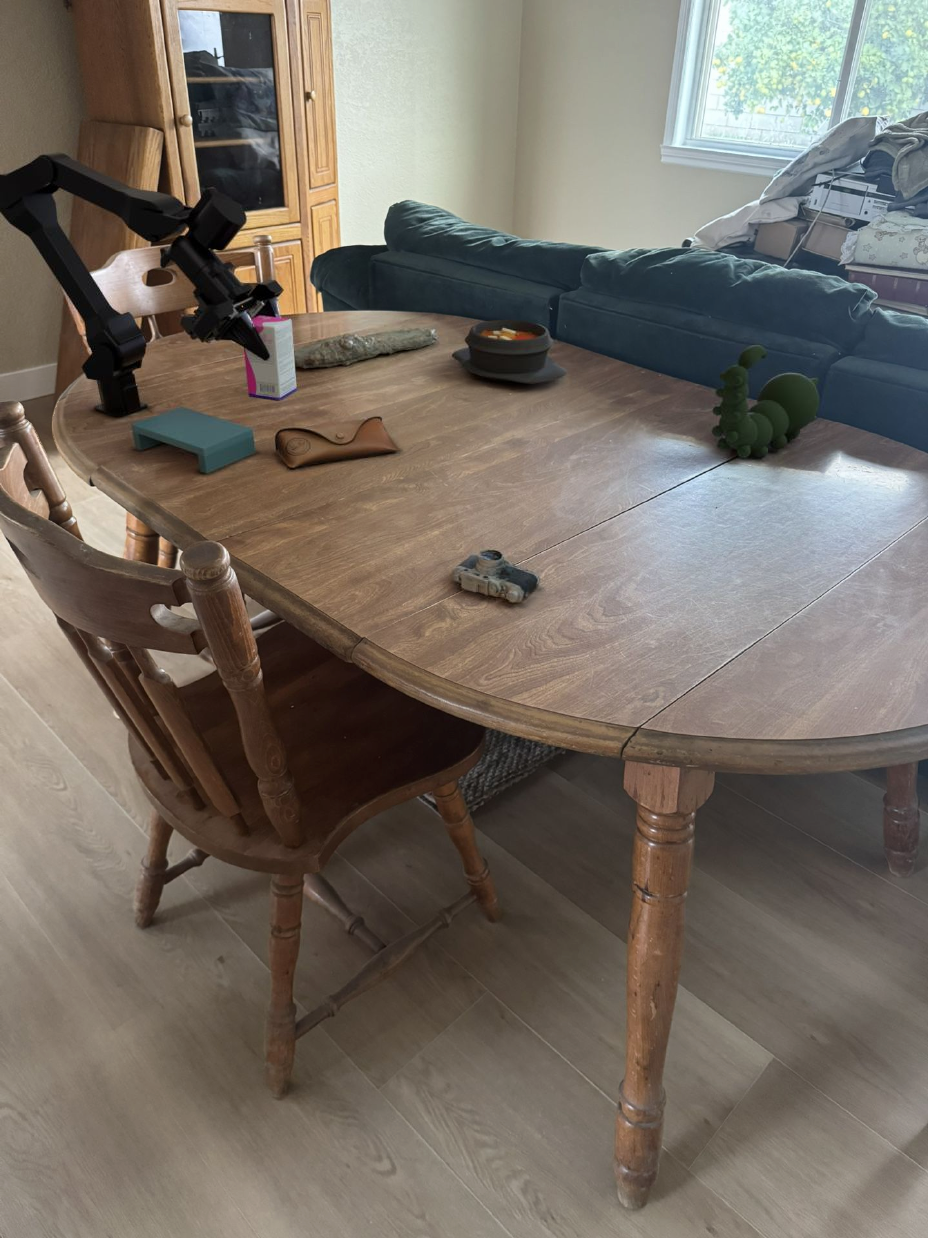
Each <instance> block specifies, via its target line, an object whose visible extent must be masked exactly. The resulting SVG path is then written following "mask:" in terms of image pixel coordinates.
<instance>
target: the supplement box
mask: <svg viewBox="0 0 928 1238" xmlns="http://www.w3.org/2000/svg"><path fill="white" fill-rule="evenodd" d="M250 319H251V318H250ZM251 321H252V323H253V325H254V327H255V328H256V330H257V332H258V334H259V335H260V337H261V339H262V341H263V343H264V344H265V346H266V348H267V350H268V352H269V354H270V358H269V359H268V360H266V361H265V360H263V359H261V358H260V357H258V356H257V355H255V354H253V353H252V352H250V351H249V350H247V349H246V348H244V347H243V354H244V362H245V374H246V383H247V393H248V397H249V398H254V399H255V398H256V399H261V400H267V401H274V402H281V401H283V400H285V399H286V398H288V397H289V396H291V395H292V394H295V393H296V392H297V388H298V387H297V377H296V366H295V362H294V350H295V348H294V338H293V337H294V336H293V323H292V318H285V317H281V318H278V317H269V316H257V317H255V318H253V319H251Z"/></svg>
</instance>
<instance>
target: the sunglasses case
mask: <svg viewBox="0 0 928 1238" xmlns="http://www.w3.org/2000/svg"><path fill="white" fill-rule="evenodd" d="M274 445H275V451H276V454H277V455H278V457H279V459H280V460H281V461H282V462H283V463H284V465H286V466H287V467H288V468H290V469H297V468H302V467H306V466H310V465H317V464H326V463H332V462H339V461H346V460H347V461H348V460H355V459H357V460H358V459H363V458H371V457H376V456H380V455H384V454H389V453H394V452H398V451H399V449H398V448H397V447H395V445H394V443H393V442H392V440H391V437H390V435H389V433H388V431H387V429H386V427H385V424H384V423H383V418H382V417H381V416H378V415H374V416H370V417H366V418H363V419H356V420H346V421H336V422H329V423H322V424H315V425H309V426H304V427H303V426H302V427H300V426H299V427H298V426H296V427H295V426H293V427H285V428H281V429H279V430H278V431H277V432H276V433H275V436H274Z"/></svg>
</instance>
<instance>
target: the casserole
mask: <svg viewBox="0 0 928 1238" xmlns="http://www.w3.org/2000/svg"><path fill="white" fill-rule="evenodd" d="M464 342H465V344H466V345H467V346H466V347H463V348H461V349H457V350H455V351H454V352H453V353H452V354H451V357H452V358H453V359H454V360H456V361H457V362H458V363H459V364H460V366H461V367H462V369H464V370H466V371H467V372H469V373H471V374H474V375H477V376H479V377H483V378H485V379H489V380H493V381H499V382H515V383H521V384H526V385H527V384H528V385H532V384H533V385H534V384H542V383H547V382H552V381H555V380H558V379H561V378H562V377H564V376H566V375H567V374H568V372H567V370H566V369H565V368H564V367H562V366H560V365H559V364H558V363H556V362H555V361H554V360H553V359H552V358H551V357H550V356H549V352H550V349H551V348H552V347H553V346H554V340H553V339H552V338H551V335H550V332H549V329H548V328H547V327H545V326H543V325H541V324H539V323H535V322H531V321H525V320H518V319H517V320H516V319H494V320H493V319H492V320H487V321H482V322H478V323H476V324H474V325H472V326H471V327H470V329H469V332H468V335H466V337H465V338H464Z"/></svg>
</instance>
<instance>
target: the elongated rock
mask: <svg viewBox="0 0 928 1238" xmlns="http://www.w3.org/2000/svg"><path fill="white" fill-rule="evenodd" d="M437 341H438V334H437V333H436V329H435V328H430V327H405V328H401V329H395V330H394V329H393V330H390V331H389V330H387V331H382V332H376V333H371V334H367V335H357V334H355V333H354V334H353V333H344V334H343V335H342V336H341V335H338V336H334V337H330V338H326V339H320V340H317V341H315V342H314V343H309V344H307V345H304V346H301V347H298V348H294V362H295V368H296V367H298V368H302V369H310V368H311V369H313V368H331V367H336V366H339V365H342V366H349V365H350V364H354V363H355V364H356V363H357V362H359V361H362V360H367V359H372V358H374V357H376V356H378V355H379V354H383V355H385V354H389V355H392V354H394V353H396V352H401V351H410V350H416V349H421V348H424V347H426V346H431V345H432V344H434V343H436V342H437Z"/></svg>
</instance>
